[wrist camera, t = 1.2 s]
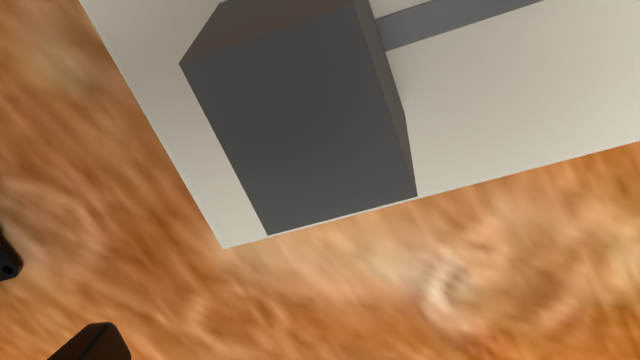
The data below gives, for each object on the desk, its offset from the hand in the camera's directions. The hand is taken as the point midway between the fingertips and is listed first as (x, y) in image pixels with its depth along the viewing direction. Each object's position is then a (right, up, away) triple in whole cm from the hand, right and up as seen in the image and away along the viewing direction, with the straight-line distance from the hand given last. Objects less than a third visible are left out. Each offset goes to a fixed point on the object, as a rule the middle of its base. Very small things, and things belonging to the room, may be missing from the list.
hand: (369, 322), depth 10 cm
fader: (-1, +6, +8) cm, 10 cm away
